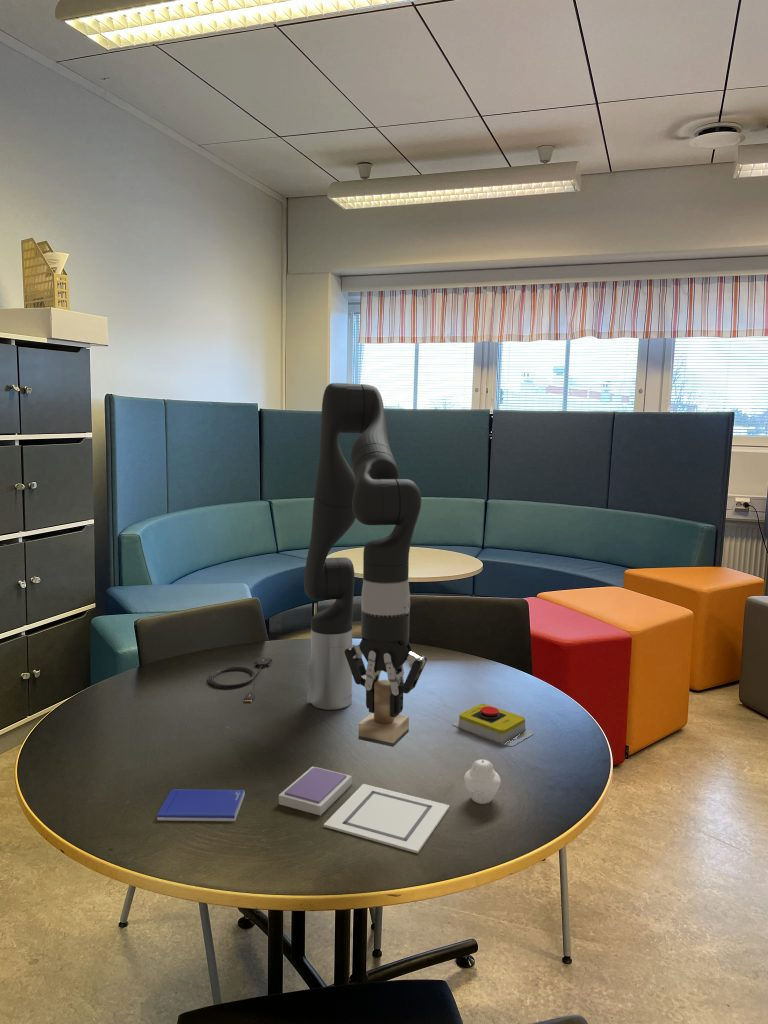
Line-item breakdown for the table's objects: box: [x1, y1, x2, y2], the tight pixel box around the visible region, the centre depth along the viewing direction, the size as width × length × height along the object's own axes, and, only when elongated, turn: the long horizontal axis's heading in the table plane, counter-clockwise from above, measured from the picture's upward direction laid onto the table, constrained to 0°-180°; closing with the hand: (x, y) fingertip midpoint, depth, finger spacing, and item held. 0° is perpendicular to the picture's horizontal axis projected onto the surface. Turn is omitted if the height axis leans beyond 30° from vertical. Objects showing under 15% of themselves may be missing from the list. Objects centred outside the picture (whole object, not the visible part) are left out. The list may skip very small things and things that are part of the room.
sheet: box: [323, 783, 451, 854], centre depth 114 cm, size 16×14×1 cm
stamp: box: [357, 679, 410, 748], centre depth 112 cm, size 6×6×9 cm
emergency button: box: [452, 703, 534, 746], centre depth 148 cm, size 9×4×15 cm
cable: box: [207, 657, 273, 704], centre depth 174 cm, size 14×28×2 cm, turn 179°
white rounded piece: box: [463, 759, 502, 805], centre depth 120 cm, size 6×6×7 cm
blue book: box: [156, 788, 245, 822], centre depth 117 cm, size 2×8×12 cm
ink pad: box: [278, 766, 353, 816], centre depth 121 cm, size 8×11×2 cm
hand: (384, 712), depth 112 cm, fingers closed on stamp, 3 cm apart
